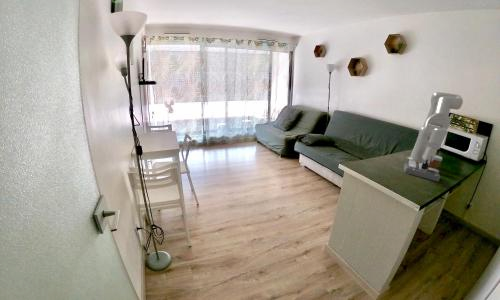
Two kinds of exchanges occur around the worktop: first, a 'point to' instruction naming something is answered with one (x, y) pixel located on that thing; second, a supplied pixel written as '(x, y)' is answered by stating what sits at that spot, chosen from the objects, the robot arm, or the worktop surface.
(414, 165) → the block
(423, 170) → the block
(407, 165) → the rocker switch panel
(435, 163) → the disposable coffee cup
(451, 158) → the worktop surface
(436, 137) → the robot arm
